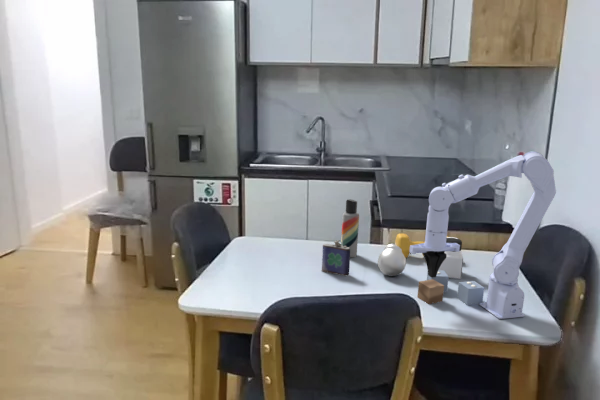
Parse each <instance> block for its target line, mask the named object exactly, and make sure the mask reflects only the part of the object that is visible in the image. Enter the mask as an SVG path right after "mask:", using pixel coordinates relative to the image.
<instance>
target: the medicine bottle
mask: <svg viewBox="0 0 600 400" xmlns="http://www.w3.org/2000/svg"><path fill="white" fill-rule="evenodd" d="M446 243H457V244H459V245H460V249H459V252H456V251H445V252H444V253H445V254H447V256H446V259H445V260H444V261H443V263H442V264H441V266H440V268H439V270H444V271H445V272H446V274H447V275H448V279H455V280H457V279H459V280H461V279H462V273H463V264H464V256H463V252H462V247H463V241H462V240H461V239H460V238H457V237H453V236H448V237H447V239H446Z"/></svg>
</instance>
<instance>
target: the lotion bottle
mask: <svg viewBox="0 0 600 400" xmlns="http://www.w3.org/2000/svg"><path fill="white" fill-rule="evenodd" d="M341 219H342V224H341V238H340V239H341V241H340V244H341V245H343V246H346V247H349V248H350V259H351V258H355V257H357V254H358V241H359V226H360V225H359V223H360V213H358V200H355V199H349V198H347V200H346V201H345V211H344V212H343V213H342V218H341Z"/></svg>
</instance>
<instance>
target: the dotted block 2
mask: <svg viewBox="0 0 600 400" xmlns="http://www.w3.org/2000/svg"><path fill="white" fill-rule="evenodd" d="M484 291H485V287H484V286H482V285H481V284H479V283H478V282H476V281H475V280H471V281H458V286H457V294H456V295H457V297H456V299H458V300H459V301H461V303H463V304H464V303H465V304H464V305H465V306H473V305H480V303H484V302H483V301H484Z"/></svg>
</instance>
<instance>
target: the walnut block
mask: <svg viewBox="0 0 600 400" xmlns="http://www.w3.org/2000/svg"><path fill="white" fill-rule="evenodd" d="M417 285H418V287H417V298H418V299H419V300H421V301H423V302H424V303H425V302H426V303H425V304H426V305H432V303H433V304H438V303H437V302H439V303H442V302H443V300H444V293H445V292H444V285H442V284H440V283H439V282H437V281H435V280H433V279H431V280H427V279H426V280H420V281H418V284H417Z"/></svg>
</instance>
